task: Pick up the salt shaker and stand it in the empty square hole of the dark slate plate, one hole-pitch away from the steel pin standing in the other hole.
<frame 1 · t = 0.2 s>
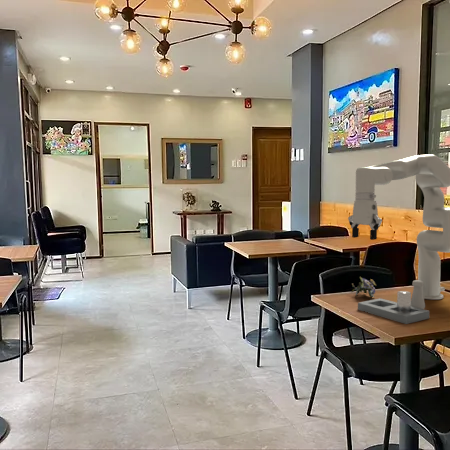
hand: (364, 238, 184), 31 cm above the table, tool pointing down, fingers open, 9 cm apart
steel pin: (403, 317, 177), resting in hole plate
hole plate: (392, 313, 182), on the table
salt shaker: (417, 311, 185), on the table
toy creature figurine: (363, 297, 210), on the table
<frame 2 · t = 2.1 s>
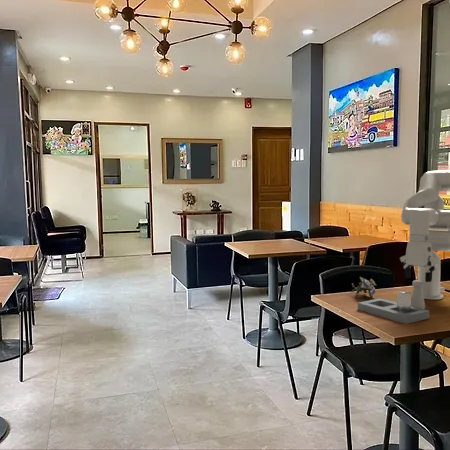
hand: (417, 279, 184), 13 cm above the table, tool pointing down, fingers open, 9 cm apart
nothing on the table moved.
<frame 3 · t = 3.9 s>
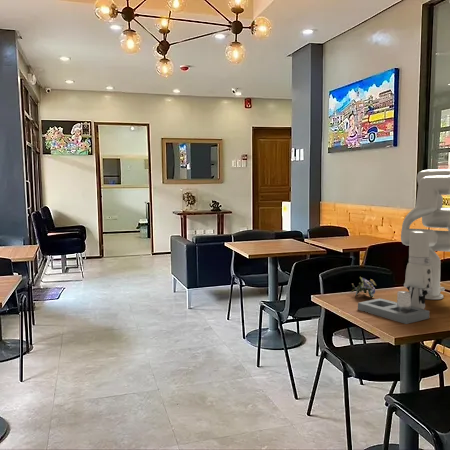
hand: (417, 303, 185), 3 cm above the table, tool pointing down, fingers closed on salt shaker, 3 cm apart
salt shaker: (417, 311, 185), on the table, touching gripper
everything else where it was.
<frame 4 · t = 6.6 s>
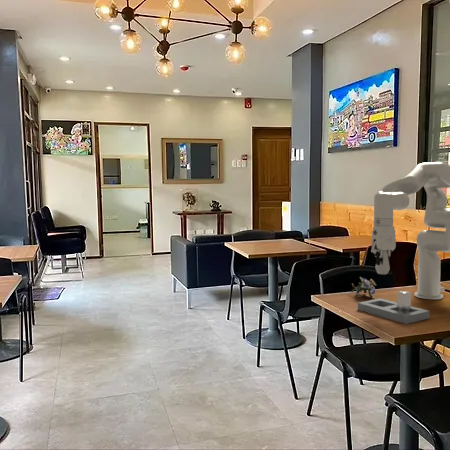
hand: (382, 265, 185), 19 cm above the table, tool pointing down, fingers closed on salt shaker, 3 cm apart
salt shaker: (382, 274, 185), point 16 cm above the table, touching gripper
everything else where it was.
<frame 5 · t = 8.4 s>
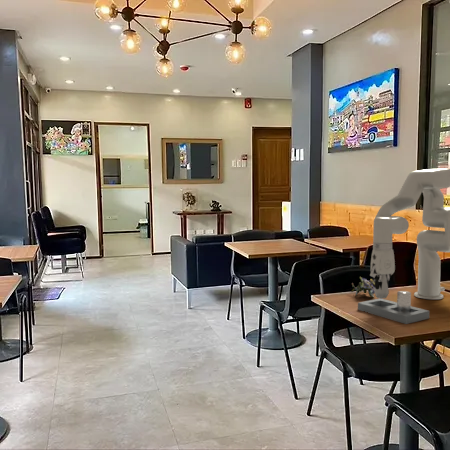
hand: (381, 289, 186), 9 cm above the table, tool pointing down, fingers closed on salt shaker, 3 cm apart
salt shaker: (381, 297, 186), point 6 cm above the table, touching gripper
everything else where it was.
when the fingers open (5 cm above the table, at t = 9.5 s): salt shaker drops 1 cm, resting in hole plate.
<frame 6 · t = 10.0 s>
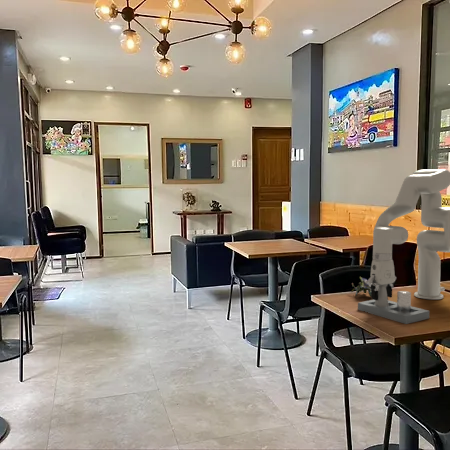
hand: (381, 298, 186), 5 cm above the table, tool pointing down, fingers open, 8 cm apart
salt shaker: (381, 311, 187), resting in hole plate
everything else where it was.
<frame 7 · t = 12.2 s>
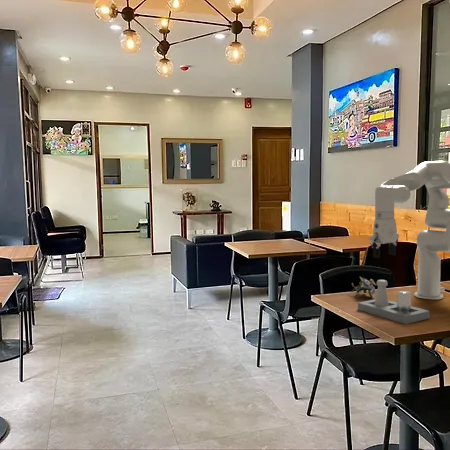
hand: (384, 256, 187), 23 cm above the table, tool pointing down, fingers open, 9 cm apart
nothing on the table moved.
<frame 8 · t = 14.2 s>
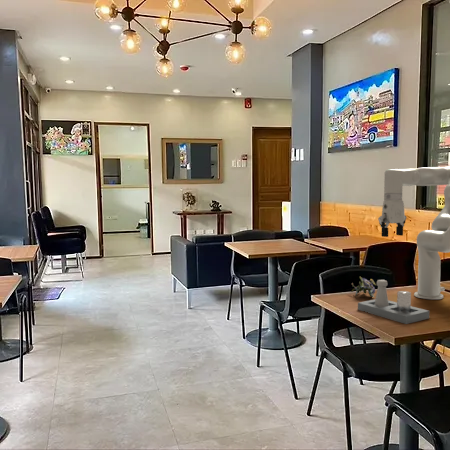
hand: (392, 235, 197), 30 cm above the table, tool pointing down, fingers open, 9 cm apart
nothing on the table moved.
at the end: salt shaker 0.2 cm from the target spot on the hole plate, point 0.0 cm above the hole plate's base; salt shaker tilted 0°; the gripper is holding nothing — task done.
